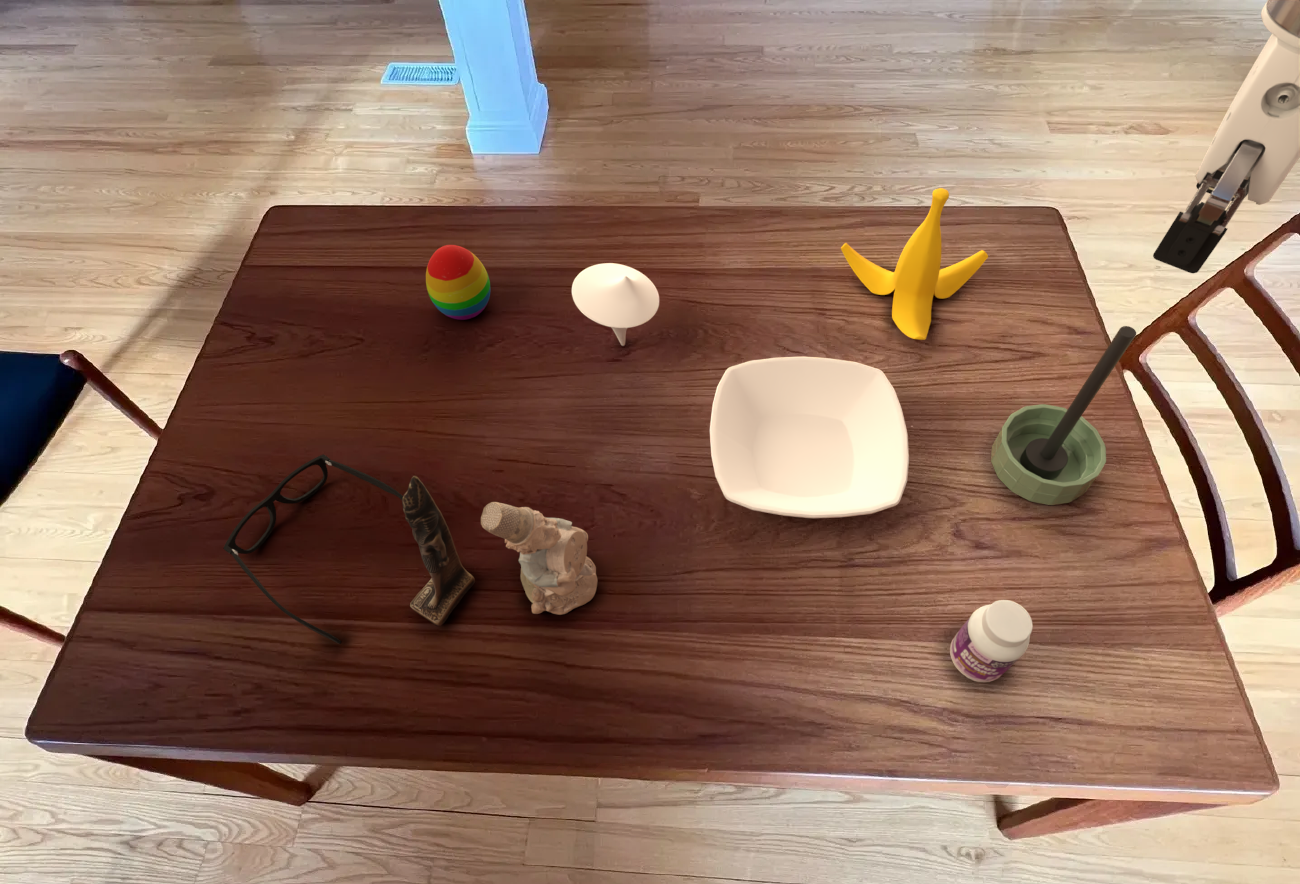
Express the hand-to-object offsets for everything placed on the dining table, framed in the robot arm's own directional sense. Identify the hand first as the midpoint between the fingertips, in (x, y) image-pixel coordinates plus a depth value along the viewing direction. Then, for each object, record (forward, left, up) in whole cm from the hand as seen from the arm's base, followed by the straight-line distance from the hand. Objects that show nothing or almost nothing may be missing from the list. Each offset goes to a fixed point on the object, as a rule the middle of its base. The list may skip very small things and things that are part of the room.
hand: (1196, 227), depth 61 cm
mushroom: (+50, +14, -34) cm, 62 cm away
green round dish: (0, 0, -34) cm, 34 cm away
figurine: (+34, +44, -34) cm, 65 cm away
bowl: (+22, +15, -34) cm, 43 cm away
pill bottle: (-4, +25, -34) cm, 43 cm away
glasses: (+57, +56, -34) cm, 87 cm away
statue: (+43, +52, -34) cm, 75 cm away
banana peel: (+23, -13, -34) cm, 44 cm away
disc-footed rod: (0, 0, -34) cm, 34 cm away
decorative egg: (+72, +21, -34) cm, 82 cm away
